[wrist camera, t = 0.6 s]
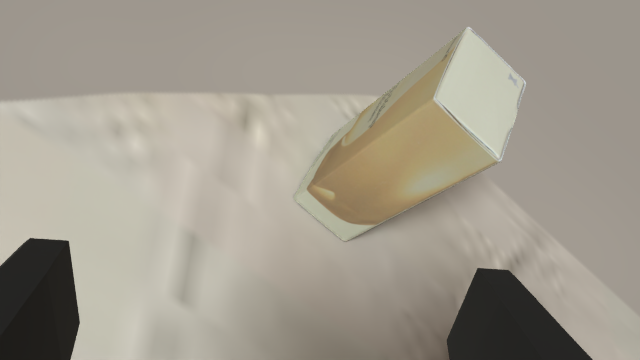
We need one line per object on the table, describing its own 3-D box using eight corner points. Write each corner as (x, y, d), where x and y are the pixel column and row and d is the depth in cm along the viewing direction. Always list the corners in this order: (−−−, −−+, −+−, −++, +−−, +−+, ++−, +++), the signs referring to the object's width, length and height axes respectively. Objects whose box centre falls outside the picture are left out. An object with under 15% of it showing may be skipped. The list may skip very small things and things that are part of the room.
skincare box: (330, 133, 37) (469, 18, 28) (380, 176, 38) (530, 78, 28) (287, 202, 33) (433, 95, 23) (344, 248, 34) (505, 162, 24)
